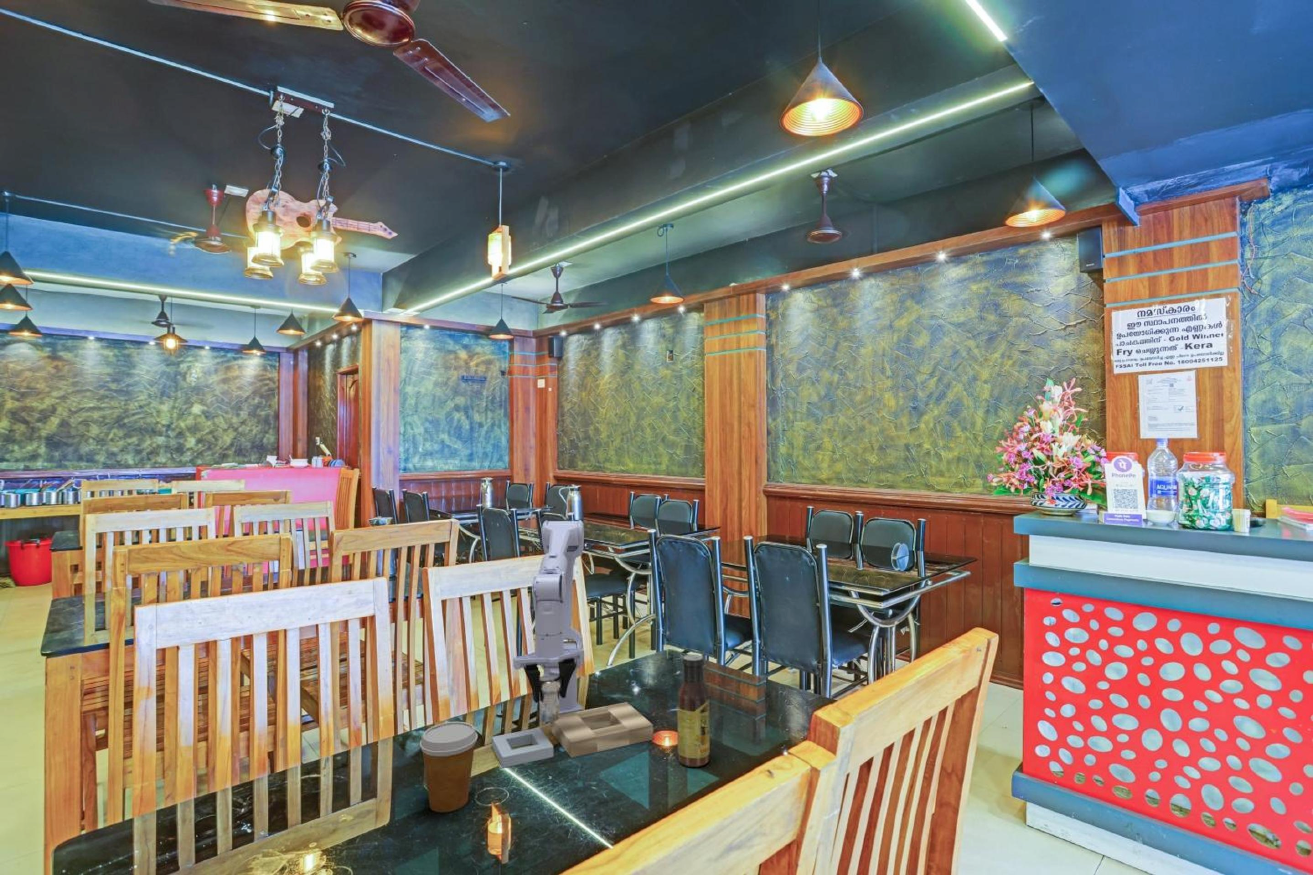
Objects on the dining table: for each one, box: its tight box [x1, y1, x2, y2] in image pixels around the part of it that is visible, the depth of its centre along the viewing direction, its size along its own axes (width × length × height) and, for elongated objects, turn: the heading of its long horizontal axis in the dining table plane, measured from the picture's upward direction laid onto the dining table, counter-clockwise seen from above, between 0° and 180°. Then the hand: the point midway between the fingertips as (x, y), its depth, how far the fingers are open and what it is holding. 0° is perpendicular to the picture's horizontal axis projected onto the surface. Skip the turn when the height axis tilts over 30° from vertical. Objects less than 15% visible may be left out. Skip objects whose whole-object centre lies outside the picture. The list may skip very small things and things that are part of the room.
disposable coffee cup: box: [419, 721, 479, 813], centre depth 109 cm, size 10×10×12 cm
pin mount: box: [491, 727, 554, 769], centre depth 128 cm, size 10×10×2 cm
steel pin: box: [539, 674, 562, 723], centre depth 131 cm, size 5×5×8 cm
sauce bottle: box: [676, 654, 711, 768], centre depth 124 cm, size 7×6×20 cm
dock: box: [550, 701, 654, 758], centre depth 135 cm, size 14×18×3 cm
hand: (549, 698), depth 131 cm, fingers closed on steel pin, 5 cm apart
